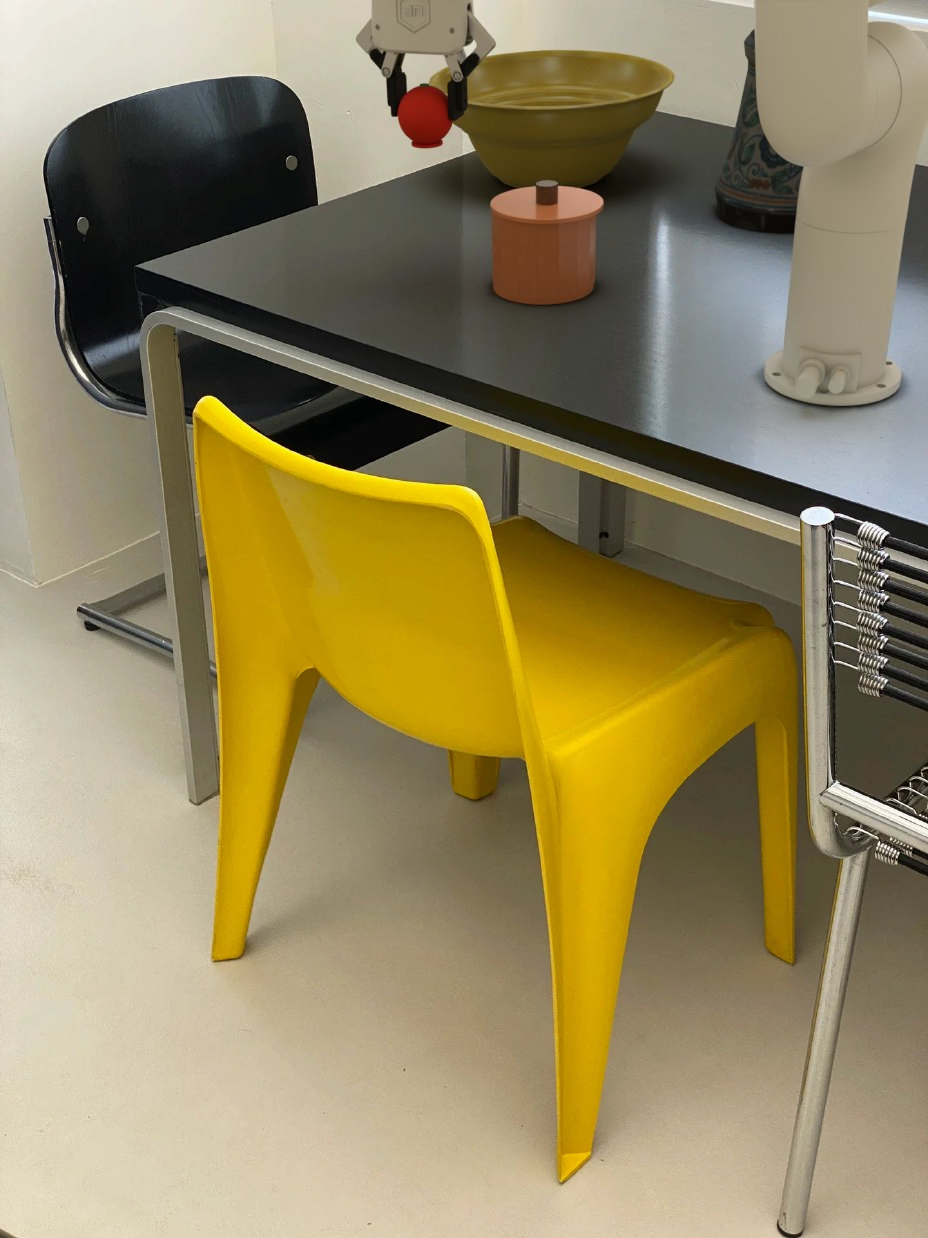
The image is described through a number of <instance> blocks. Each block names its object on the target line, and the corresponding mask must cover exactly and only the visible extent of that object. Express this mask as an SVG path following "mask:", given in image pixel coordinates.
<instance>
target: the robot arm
mask: <svg viewBox="0 0 928 1238" xmlns="http://www.w3.org/2000/svg"><path fill="white" fill-rule="evenodd" d="M887 1H888V0H753V18H754V29H755V62H756V94H757V106H758V113H759V118H760V122H761V126H762V129H763V132H764V134H765V136H766V138H767V140H768V142H769V143H770V145H771V146H772V148H773V149H774V150H775V151H776V152H777V153H778V154H779V155H780V156H781V157H782V158H784V159H785V160H787V161H789V162H791V163H793V164H796V165H799V166H804V168H803V172H802V176H801V182H800V188H799V194H798V203H797V213H796V222H795V232H793V233H794V234H793V244H792V245H793V246H792V252H791V253H792V255H791V264H790V274H789V275H790V276H789V285H788V295H787V296H788V297H787V303H786V305H787V306H786V314H785V315H786V316H785V327H784V337H783V347H782V349H781V350H778V351H777V352H775V353H774V354H772V355H770V357H768V359H766V361H765V363H764V367H763V368H764V369H763V378H764V381H765V382H766V383H767V385H768V386H770V388H772V389H773V390H775V391H776V392H777V393H779V394H782V395H783V396H785V397H788V398H790V399H793V400H797V401H800V402H804V403H809V404H814V405H822V406H834V407H835V406H836V407H847V406H860V405H868V404H871V403H876V402H879V401H882V400H884V399H887V398H889V397H890V396H893V394H895V393H896V392H897V391H898V390H899V389H900V386H901V382H902V370H901V368H900V367H899V365H898V364H897V363H896V362H895V361H894V360H893V359H891V358H890V357H888V349H889V342H890V336H891V330H892V322H893V315H894V309H895V300H896V294H897V287H898V286H897V285H898V280H899V279H898V278H899V273H900V272H899V271H900V266H901V265H900V264H901V258H902V251H903V243H904V236H905V229H906V222H907V218H908V211H909V204H910V198H911V192H912V186H913V179H914V174H915V168H916V164H917V161H918V160H917V159H918V156H919V151H920V147H921V144H922V140H923V137H924V133H925V130H926V127H927V123H928V48H927V46H926V45H925V43H924V42H923V40H922V39H921V38H920V37H919V36H918V35H917V34H916V32H914V31H913V30H911V29H909V28H908V27H906V26H904V25H901V24H898V23H896V22H892V21H881V20H880V21H878V20H877V21H869V8H872V7H874V6H877V5H880V4H882V3H884V2H887ZM474 41H475V43H476V47H475V49H474V50H473V51H472V52H471V53H470V54H469V55H467V53H466V50H465V47H468V46H470V45H472V43H473V42H474ZM355 42H356V43H357V45H358V46H359V47H360V48H361V49H362V50H363V51H364V52H365V53H366V54H367V55H368V56H369V59H370V60H371V61H372V62H373V64H375V66H376V67H377V68H378V69H379V71H380V74H381V76H382V77H383V78H385V82H386V83H385V84H386V103H387V106H388V107H389V108H390V116H391V117H392V118H398V108H399V104H400V102H401V100H402V98H403V97H404V95H405V94H406V93H407V92H408V81H407V74H406V72H404V71H403V64H404V61H405V57H406V54H409V55H411V54H412V55H430V56H431V55H432V56H443V57H444V61H445V62H446V65H447V67H448V68H449V71H450V73H451V81H449V82H448V84H447V94H448V119H450V121H456V120H457V119H459V118H460V117H462V116H463V115H464V111H466V110H467V107H468V92H467V77H468V76H469V75H470V74H471V72H472V71H473V70H474V69H475V68H476V67H477V66H478V65H479V64H480V62H481V61H482V60H483V59H484V58H485V57H486V56H489V54H490V53H491V52H492V51H493V50H494V49H495V48H496V46H497V42H496V40H495V39H494V37H493V36H492V35H491V34H490V32H488V30H487V29H486V28H485V27H484V26H483V25H482V23H481V22H480V20H479V19H478V18H477V17H476V16H475V8H474V0H371V18H369V20H368V21H367V22H366V23H365V25H364V26H363V28H362V29H361V30H360V31H359V33H358V34H357V35H356V37H355Z"/></svg>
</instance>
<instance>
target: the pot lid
mask: <svg viewBox="0 0 928 1238" xmlns="http://www.w3.org/2000/svg"><path fill="white" fill-rule="evenodd" d="M604 204H605V202H604V199H603V197H602V196H600V195H599V194H598V193H596V192H593V191H591V190H588V189H584V188H581V187H580V188H574V187H565V186H558V182H556V181H551V180H544V181H539V182H537V183H536V186H534V187H525V188H514V189H511V190H507V191H505V192H504V191H503V192H502V193H499V194H497V195H495V196H494V197H493V198H492V199H491V201H490V211H492V212H493V213H494V214H495V215H497V216H499V217H501V218H504V219H507V220H510V221H515V222H521V223H530V224H558V223H568V222H574V221H579V220H583V219H587V218H589V217H592V216H594V215H596V216H597V215H598V214H600V212H602V211H603V210H604Z"/></svg>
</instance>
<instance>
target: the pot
mask: <svg viewBox="0 0 928 1238" xmlns="http://www.w3.org/2000/svg"><path fill="white" fill-rule="evenodd" d="M490 211H491V210H490ZM490 215H491V217H490V218H491V257H492V258H491V259H492V261H491V262H492V287H493V291H494V293H495V294H496V295H497V296H499V297H501V298H502V299H504V300H507V301H510V302H513V303H519V304H524V305H536V306H537V305H538V306H539V305H540V306H541V305H543V306H544V305H546V306H547V305H557V304H558V305H559V304H567V303H570V302H575V301H577V300H580V299H583V298H585V297H587V296H588V295H590V294H591V293H592V292H593V291H594V288H595V284H596V246H597V245H596V244H597V239H596V238H597V237H596V236H597V214H596V215H594V216H592V217H589V218H587V219H583V220H579V221H574V222H568V223H558V224H530V223H521V222H515V221H510V220H507V219H504V218H501V217H499V216H497V215H495V214H494V213H493V212H492V211H491V214H490Z"/></svg>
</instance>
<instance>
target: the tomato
mask: <svg viewBox="0 0 928 1238" xmlns="http://www.w3.org/2000/svg"><path fill="white" fill-rule="evenodd" d="M397 120H398V124H399V127H400V129H401V131H402V132H403V134H404V135H405V136H406V137H407V138H408V139H409V140H411V143H410V144H411V146H412V147H413V148H416V149H435V148H439V147H442V146H443V144H444V141H443V139H444V138H446V136H447V135H448V134H449V133H450V130H451V129H452V127H453V125H454V124H453V121H450V119H448V96H447V95H446V94H445V93H444V92H443V91H442V90H440V89H439V88H437V87H434V86H430V85H429V82H423V83H420V84H419V85H418V86H414V87H412V88H411V89H409V90H407V93H406V94H405V95H404V97H403V98H402V100H401V102H400V104H399V108H398V117H397Z"/></svg>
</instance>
